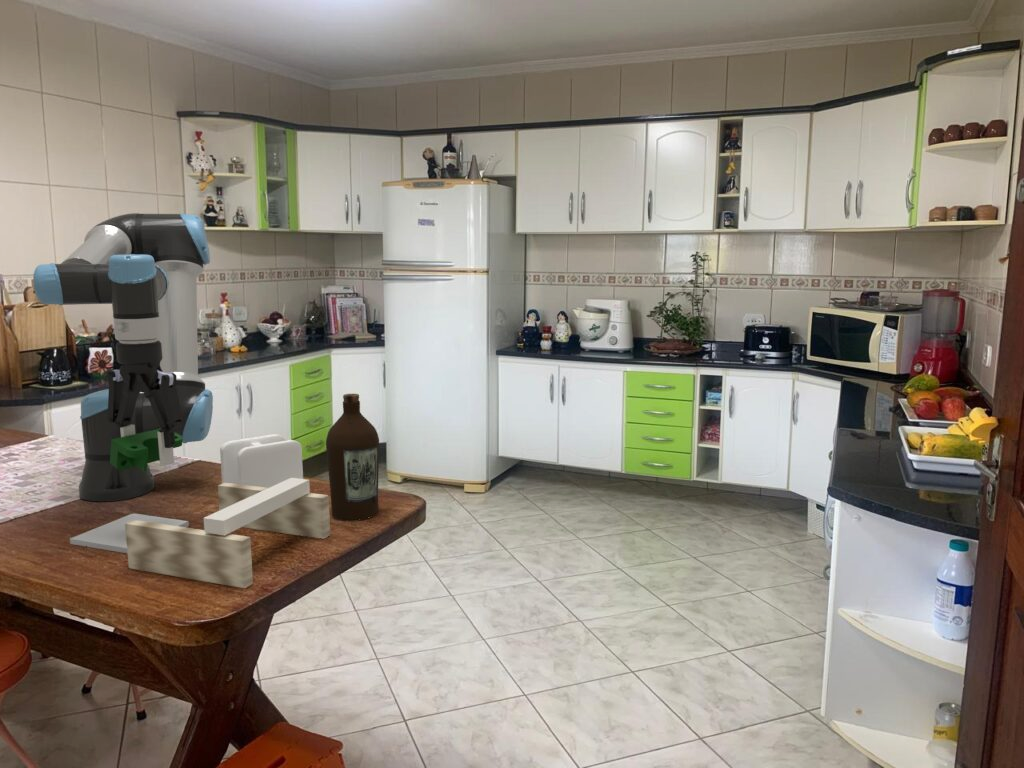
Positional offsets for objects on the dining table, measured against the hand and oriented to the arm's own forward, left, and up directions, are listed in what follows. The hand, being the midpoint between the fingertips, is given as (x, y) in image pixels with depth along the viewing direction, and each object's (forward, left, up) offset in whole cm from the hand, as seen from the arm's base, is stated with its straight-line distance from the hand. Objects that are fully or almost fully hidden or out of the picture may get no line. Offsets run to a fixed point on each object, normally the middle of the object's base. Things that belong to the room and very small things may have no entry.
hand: (148, 461), depth 146 cm
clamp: (0, 0, -1) cm, 1 cm away
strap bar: (+25, 0, -7) cm, 26 cm away
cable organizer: (+1, +32, -15) cm, 35 cm away
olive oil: (+29, +25, -15) cm, 41 cm away
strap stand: (+19, 0, -15) cm, 24 cm away
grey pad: (-5, 0, -15) cm, 16 cm away
